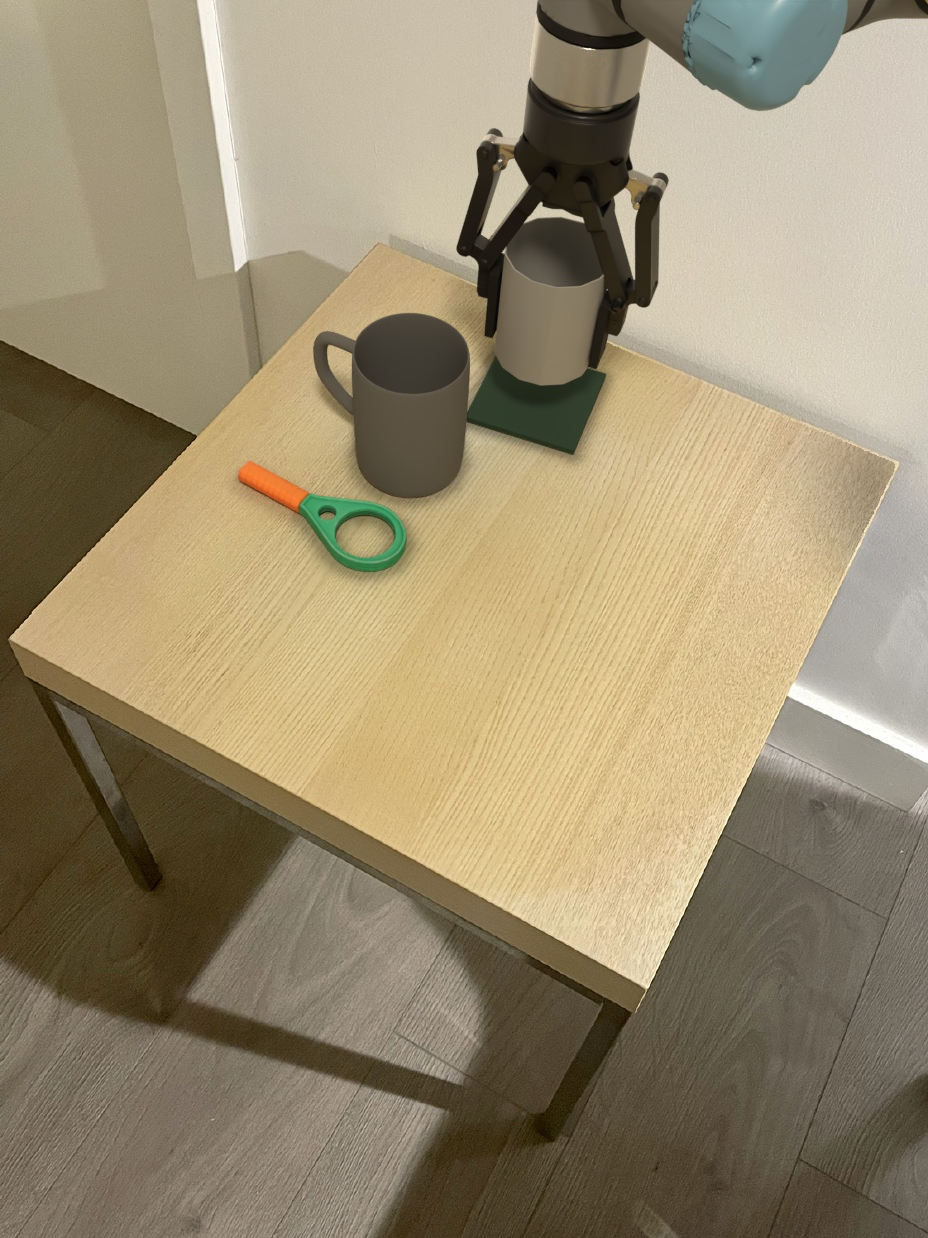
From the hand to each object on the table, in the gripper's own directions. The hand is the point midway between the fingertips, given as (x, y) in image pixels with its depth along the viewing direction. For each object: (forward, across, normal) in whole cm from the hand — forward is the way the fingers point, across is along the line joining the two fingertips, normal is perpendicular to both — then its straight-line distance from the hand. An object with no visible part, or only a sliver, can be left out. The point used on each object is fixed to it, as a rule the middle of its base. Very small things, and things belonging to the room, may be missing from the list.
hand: (544, 341), depth 90 cm
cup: (+1, 0, 0) cm, 1 cm away
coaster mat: (+7, 0, 0) cm, 7 cm away
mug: (+7, +10, +10) cm, 16 cm away
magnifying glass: (+7, +12, +20) cm, 24 cm away
